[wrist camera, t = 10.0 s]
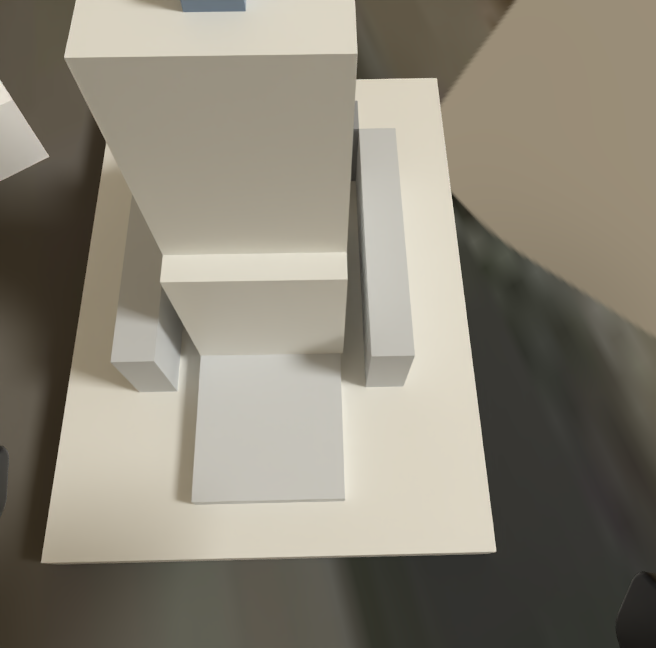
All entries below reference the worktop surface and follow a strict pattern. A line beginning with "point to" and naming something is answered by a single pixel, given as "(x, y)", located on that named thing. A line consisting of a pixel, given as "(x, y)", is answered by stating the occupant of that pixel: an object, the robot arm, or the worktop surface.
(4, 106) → the white angled block
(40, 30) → the worktop surface
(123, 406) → the rail mount
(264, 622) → the worktop surface
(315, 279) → the block
